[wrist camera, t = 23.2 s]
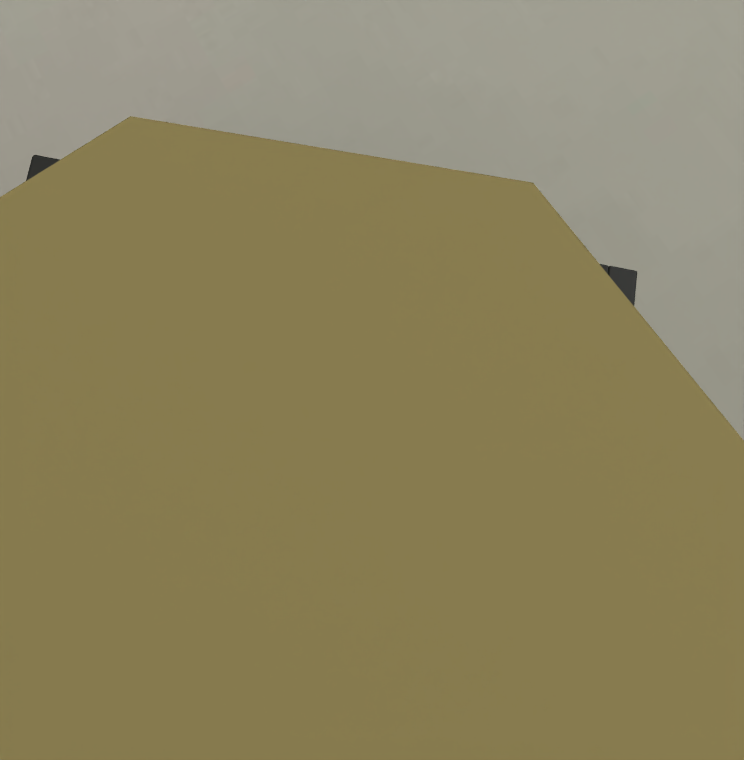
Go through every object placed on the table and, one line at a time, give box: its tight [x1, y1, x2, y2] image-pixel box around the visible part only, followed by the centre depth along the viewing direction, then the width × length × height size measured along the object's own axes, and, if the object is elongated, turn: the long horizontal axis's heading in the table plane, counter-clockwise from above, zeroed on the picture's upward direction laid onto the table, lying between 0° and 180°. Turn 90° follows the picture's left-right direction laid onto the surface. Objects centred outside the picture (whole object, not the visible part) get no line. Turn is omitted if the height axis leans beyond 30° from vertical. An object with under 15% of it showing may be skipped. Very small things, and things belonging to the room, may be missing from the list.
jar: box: [0, 116, 744, 760], centre depth 12 cm, size 9×9×15 cm
